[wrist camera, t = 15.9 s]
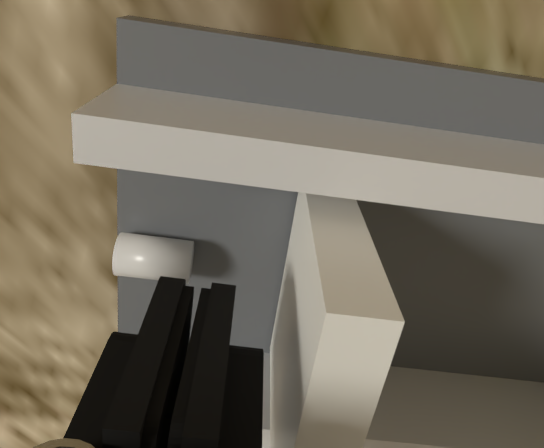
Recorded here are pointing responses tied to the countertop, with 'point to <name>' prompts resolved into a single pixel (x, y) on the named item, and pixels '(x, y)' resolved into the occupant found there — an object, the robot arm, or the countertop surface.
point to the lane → (344, 184)
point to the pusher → (330, 329)
